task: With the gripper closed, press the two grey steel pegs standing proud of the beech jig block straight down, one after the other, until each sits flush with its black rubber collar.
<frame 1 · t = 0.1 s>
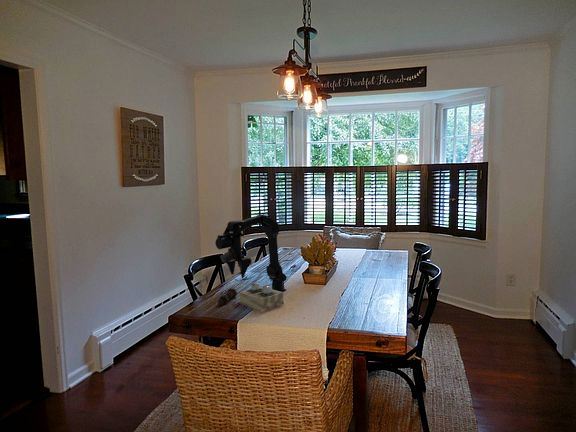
hand: (237, 276, 214), 14 cm above the table, tool pointing down, fingers open, 9 cm apart
jig block: (261, 303, 214), on the table
bolt: (226, 302, 220), on the table
peg 1: (255, 288, 216), point 7 cm above the table, slide at 0.0 cm
peg 2: (266, 291, 209), point 7 cm above the table, slide at 0.0 cm
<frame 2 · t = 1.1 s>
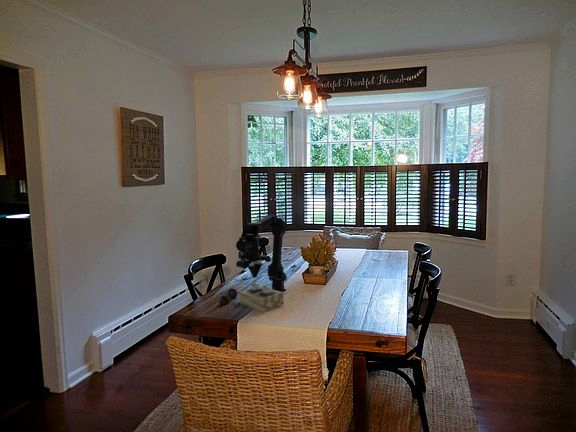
hand: (254, 277, 215), 13 cm above the table, tool pointing down, fingers closed
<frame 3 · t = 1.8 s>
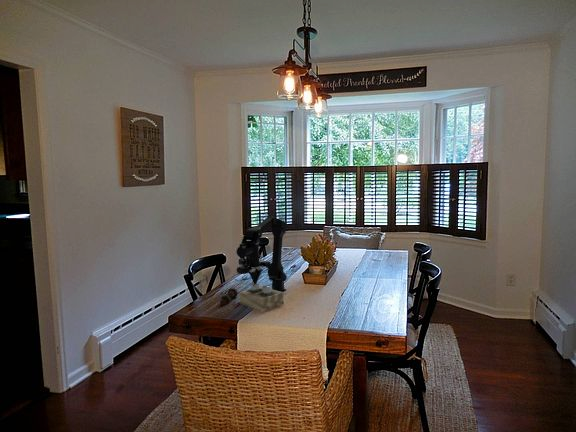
hand: (255, 283, 216), 10 cm above the table, tool pointing down, fingers closed, pressing on peg 1
peg 1: (255, 289, 216), point 7 cm above the table, slide at 0.2 cm, touching gripper
everything else where it was.
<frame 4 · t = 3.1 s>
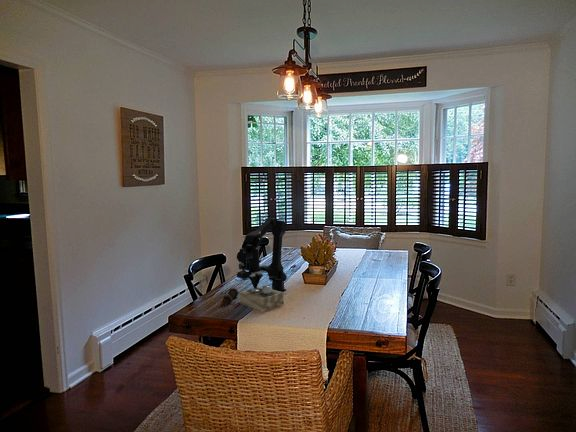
hand: (255, 288, 216), 7 cm above the table, tool pointing down, fingers closed
peg 1: (255, 295, 216), point 3 cm above the table, slide at 3.6 cm
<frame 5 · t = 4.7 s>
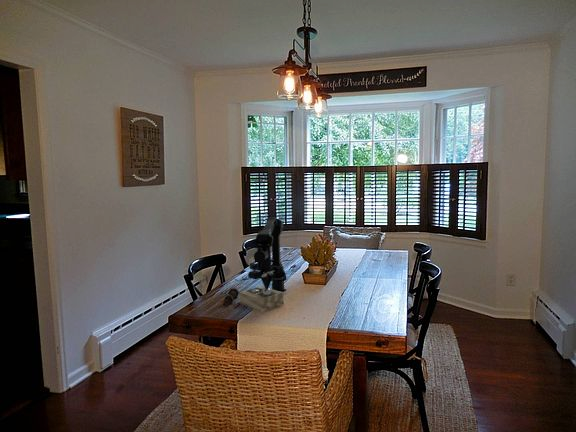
hand: (266, 288, 209), 9 cm above the table, tool pointing down, fingers closed, pressing on peg 2
peg 2: (266, 294, 210), point 6 cm above the table, slide at 1.3 cm, touching gripper
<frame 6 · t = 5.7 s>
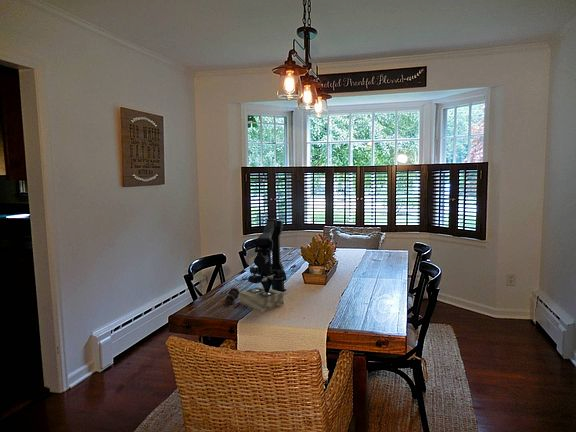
hand: (266, 292, 210), 7 cm above the table, tool pointing down, fingers closed
peg 2: (267, 298, 210), point 3 cm above the table, slide at 3.6 cm
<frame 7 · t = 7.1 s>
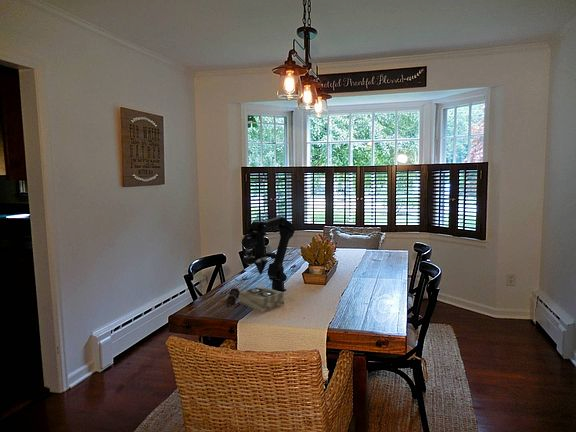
hand: (260, 273, 223), 13 cm above the table, tool pointing down, fingers closed
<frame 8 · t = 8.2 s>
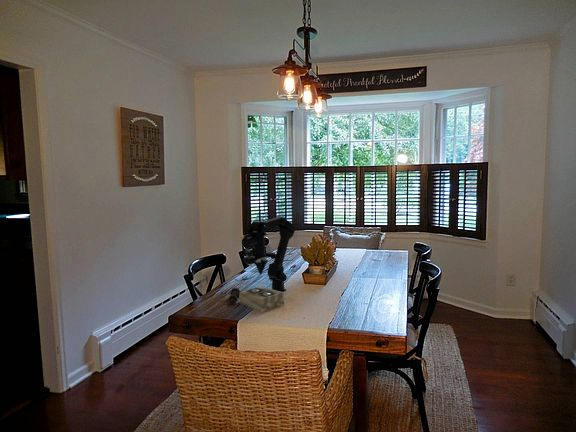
hand: (260, 273, 223), 13 cm above the table, tool pointing down, fingers closed
at the end: peg 1 slide at 3.6 cm; peg 2 slide at 3.6 cm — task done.
